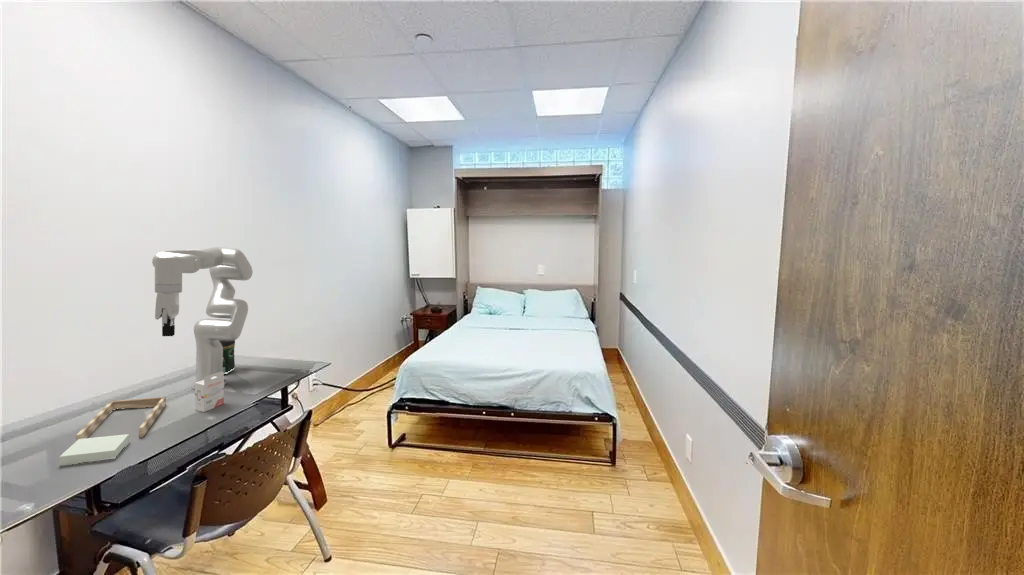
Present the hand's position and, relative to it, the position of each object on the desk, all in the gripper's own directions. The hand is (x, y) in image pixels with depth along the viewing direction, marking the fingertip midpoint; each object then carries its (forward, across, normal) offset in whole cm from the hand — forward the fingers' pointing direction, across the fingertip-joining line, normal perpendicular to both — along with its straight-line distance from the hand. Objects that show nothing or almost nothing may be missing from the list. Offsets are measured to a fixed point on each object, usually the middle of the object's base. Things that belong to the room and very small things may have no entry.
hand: (168, 335), depth 140 cm
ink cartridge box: (+32, -4, +12) cm, 35 cm away
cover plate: (+33, +23, -12) cm, 42 cm away
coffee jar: (+32, -44, +11) cm, 56 cm away
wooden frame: (+32, +3, -11) cm, 34 cm away
